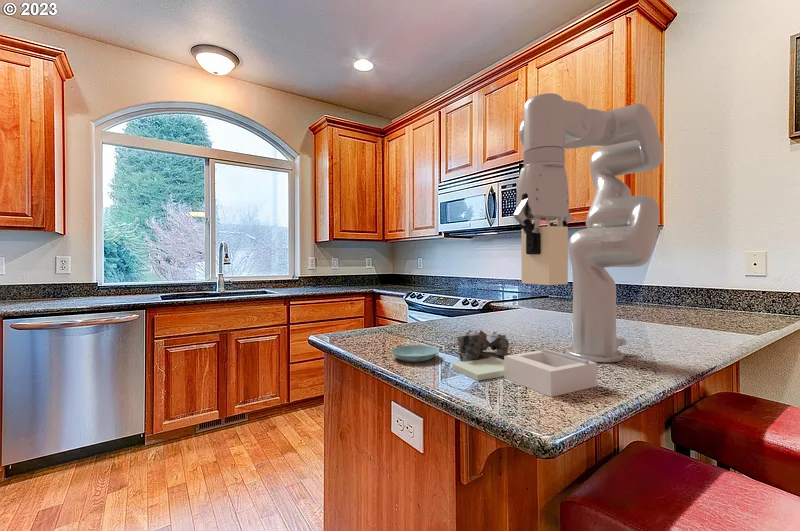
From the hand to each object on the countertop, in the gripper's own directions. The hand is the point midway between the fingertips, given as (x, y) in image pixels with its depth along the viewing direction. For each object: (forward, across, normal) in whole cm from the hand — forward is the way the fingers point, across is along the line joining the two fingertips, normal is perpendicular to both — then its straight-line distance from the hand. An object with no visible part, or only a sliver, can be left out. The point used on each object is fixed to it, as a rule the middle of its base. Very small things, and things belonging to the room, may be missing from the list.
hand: (543, 253), depth 75 cm
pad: (+25, +5, -11) cm, 28 cm away
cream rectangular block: (+6, 0, 0) cm, 6 cm away
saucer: (+26, +14, -28) cm, 40 cm away
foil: (+26, 0, -20) cm, 32 cm away
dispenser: (+25, 0, +1) cm, 25 cm away
